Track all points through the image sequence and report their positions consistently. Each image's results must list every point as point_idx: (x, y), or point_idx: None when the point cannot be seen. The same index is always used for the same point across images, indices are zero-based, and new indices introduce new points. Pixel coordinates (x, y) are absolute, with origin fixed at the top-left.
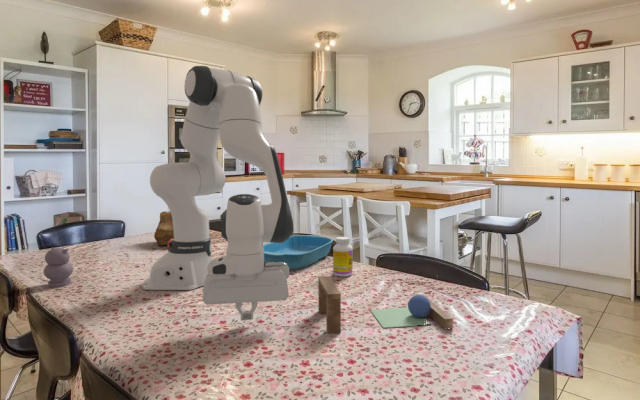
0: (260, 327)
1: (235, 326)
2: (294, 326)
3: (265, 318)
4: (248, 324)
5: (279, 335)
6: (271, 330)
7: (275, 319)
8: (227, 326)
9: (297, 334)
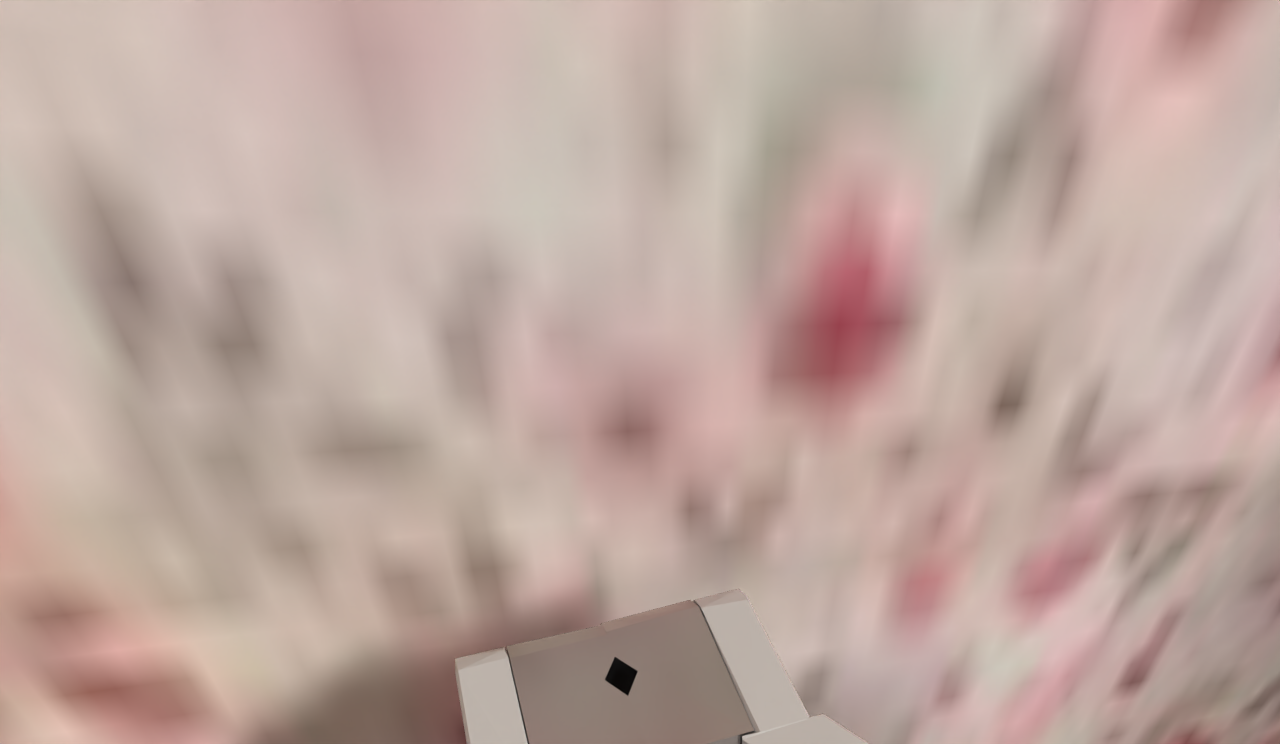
0: (804, 576)
1: (319, 599)
2: (1277, 490)
3: (965, 173)
4: (586, 491)
5: (1003, 731)
6: (946, 638)
7: (1138, 232)
8: (122, 621)
9: (1195, 676)
